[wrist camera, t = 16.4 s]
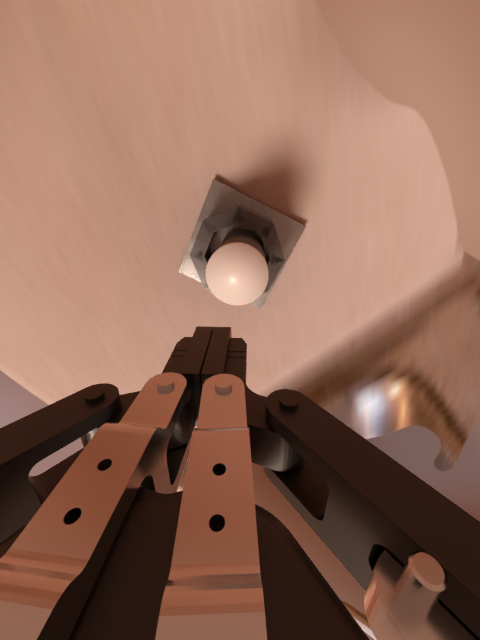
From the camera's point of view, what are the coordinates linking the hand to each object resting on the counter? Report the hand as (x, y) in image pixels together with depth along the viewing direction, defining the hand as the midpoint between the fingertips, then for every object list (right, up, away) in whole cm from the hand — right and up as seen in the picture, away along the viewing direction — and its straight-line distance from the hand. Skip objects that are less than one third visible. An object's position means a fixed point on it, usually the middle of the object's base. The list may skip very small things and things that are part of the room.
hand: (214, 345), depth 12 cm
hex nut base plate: (+1, +9, +20) cm, 22 cm away
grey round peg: (+1, +9, +19) cm, 22 cm away
